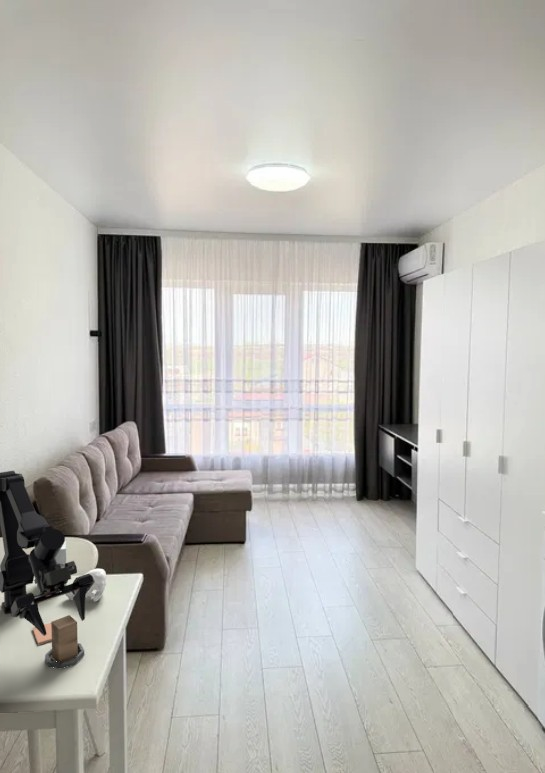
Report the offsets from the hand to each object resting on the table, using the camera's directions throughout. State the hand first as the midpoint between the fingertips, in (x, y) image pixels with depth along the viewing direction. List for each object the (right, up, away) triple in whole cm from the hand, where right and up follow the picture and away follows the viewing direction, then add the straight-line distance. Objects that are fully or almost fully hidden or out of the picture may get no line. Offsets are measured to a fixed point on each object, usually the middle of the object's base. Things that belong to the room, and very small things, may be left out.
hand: (64, 627), depth 120 cm
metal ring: (0, -8, +1) cm, 8 cm away
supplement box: (-19, -5, +38) cm, 42 cm away
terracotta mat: (-8, -7, +11) cm, 15 cm away
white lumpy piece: (-6, -6, +29) cm, 31 cm away
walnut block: (0, -8, +1) cm, 8 cm away
